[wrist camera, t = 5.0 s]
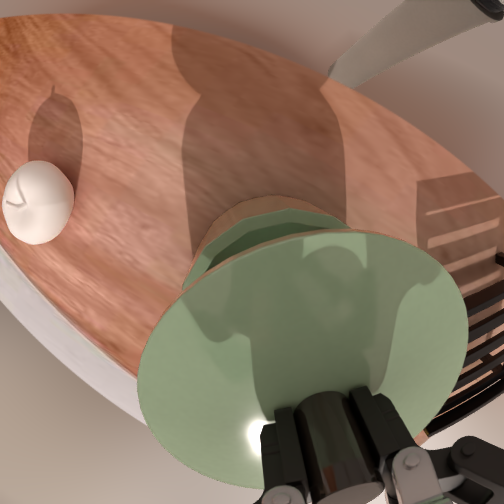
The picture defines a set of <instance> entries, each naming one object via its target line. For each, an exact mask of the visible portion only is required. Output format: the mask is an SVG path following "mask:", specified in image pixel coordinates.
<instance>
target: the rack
mask: <svg viewBox="0 0 504 504" xmlns="http://www.w3.org/2000/svg"><path fill="white" fill-rule="evenodd" d="M496 263H497V264H499V265H501V266H503V267H504V253H502V252H500V253H498V254H496ZM503 299H504V279H503V280H501V281H499V282H497V283H495V284H493V285H491V286H489V287H487V288H485V289H483V290H481V291H479V292H477V293H475V294H472V295H470V296H468V297H466V298H463V300H464V303H465V306H466V311H467V317H470V316H472V315H474V314H476V313H478V312H480V311H482V310H484V309H486V308H488V307H490V306H492V305H494V304H495V303H497V302H499V301H501V300H503ZM503 323H504V308H503V309H502V310H500V311H498V312H496V313H494V314H493V315H491V316H489V317H487V318H485V319H483V320H482V321H480V322H478V323H476V324H474V325H472V326H470V327H468V343H470V342H472V341H474V340H475V339H477V338H479V337H481V336H483V335H485V334H486V333H488V332H490V331H492V330H493V329H495V328H497V327H498V326H500V325H502V324H503ZM503 344H504V331H502V332H500V333H499V334H497V335H495V336H494V337H492V338H490V339H489V340H487V341H485V342H483V343H482V344H480V345H478V346H476V347H475V348H473V349H471V350H469V351H467V352H466V356H465V360H464V363H463V367H462V368H464V367H466V366H468V365H469V364H471V363H473V362H475V361H477V360H478V359H480V360H481V361H482V362H483V363H481V364H479V365H477V366H476V367H474V368H472V369H471V370H469V371H467V372H465V373H463V374H461V375H460V376H459V377H458V380H457V382H456V384H455V386H454V388H453V390H452V392H454V391H456V390H457V389H459V388H461V387H463V386H465V385H466V384H468V383H470V382H472V381H473V380H475V379H477V378H478V377H480V376H482V375H483V374H485V373H487V372H488V371H490V370H492V371H493V373H491V374H490V375H488V376H487V377H485V378H483V379H482V380H480V381H479V382H477V383H475V384H474V385H472V386H470V387H468V388H467V389H465V390H463V391H461V392H460V393H458V394H456V395H454V396H452V397H450V398H448V399H447V400H446V402H445V403H444V405H443V406H442V408H441V409H440V410H439V412H438V413H437V414H436V415H435V417H436V416H438V415H440V414H442V413H444V412H446V411H448V410H449V409H451V408H453V407H455V406H457V405H459V404H460V403H462V402H464V401H466V400H467V399H469V398H471V397H472V396H474V395H476V394H477V393H479V392H481V391H482V390H484V389H485V388H487V387H488V386H490V385H491V384H493V383H494V382H496V381H498V380H499V379H501V380H499V381H498V382H496V383H495V384H493V385H492V386H490V387H489V388H487V389H486V390H484V391H482V392H481V393H479V394H478V395H476V396H474V397H473V398H471V399H469V400H468V401H466V402H464V403H462V404H461V405H459V406H457V407H455V408H454V409H452V410H450V411H448V412H446V413H444V414H442V415H440V416H438V417H436V418H434V419H432V420H431V421H430V423H429V424H428V425H427V426H426V427H425V428H424V429H423V430H424V431H425V433H426V435H427V436H428V438H429V437H431V436H433V435H434V434H437V433H438V432H441V431H442V430H444V429H446V428H448V427H450V426H452V425H454V424H455V423H457V422H459V421H460V420H462V419H464V418H466V417H467V416H469V415H470V414H472V413H474V412H476V411H477V410H479V409H480V408H482V407H483V406H485V405H486V404H488V403H490V402H491V401H493V400H494V399H495V398H497V397H498V396H500V395H501V394H503V393H504V363H503V366H502V365H501V363H502V362H504V349H503V350H502V351H500V352H499V353H497V354H496V355H494V356H492V355H490V354H489V353H490V352H492V351H493V350H495V349H497V348H498V347H500V346H501V345H503ZM452 392H451V393H452Z"/></svg>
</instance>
